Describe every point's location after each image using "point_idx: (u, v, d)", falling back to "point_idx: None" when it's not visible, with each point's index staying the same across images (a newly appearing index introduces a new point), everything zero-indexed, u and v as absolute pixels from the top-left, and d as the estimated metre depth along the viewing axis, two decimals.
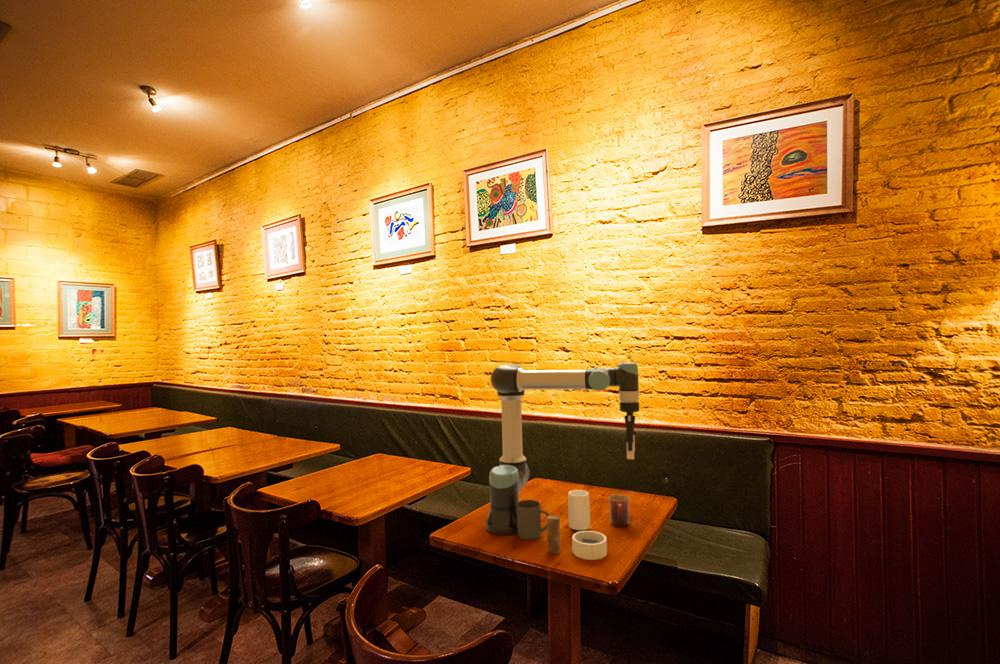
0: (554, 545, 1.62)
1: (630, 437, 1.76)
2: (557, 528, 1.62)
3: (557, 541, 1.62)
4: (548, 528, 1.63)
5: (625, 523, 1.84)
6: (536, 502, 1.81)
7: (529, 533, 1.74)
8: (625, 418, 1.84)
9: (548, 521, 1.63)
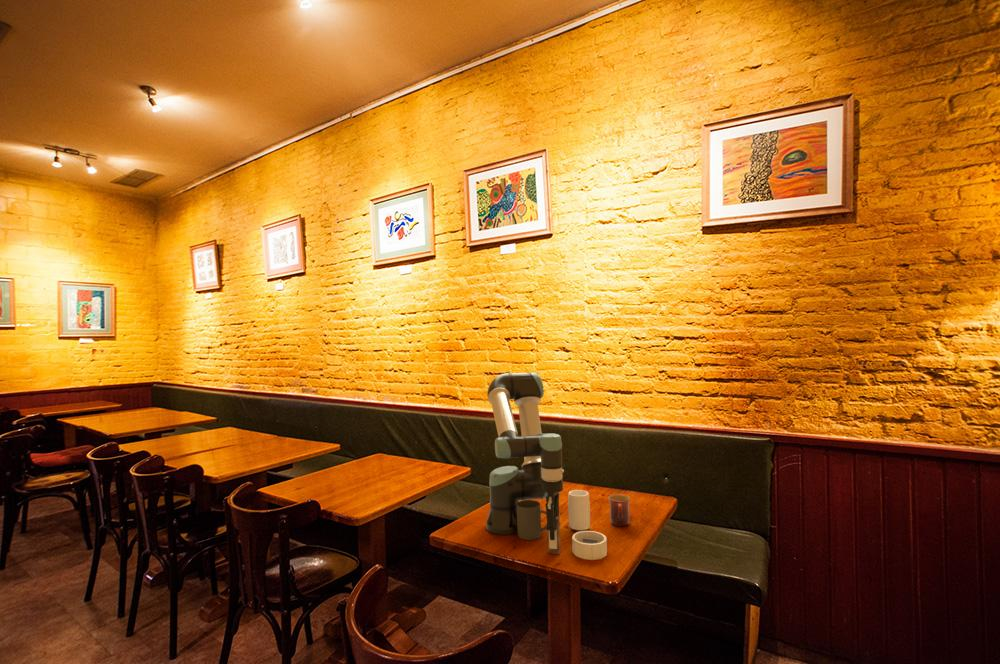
0: None
1: (551, 527, 1.59)
2: (557, 528, 1.62)
3: (557, 541, 1.62)
4: None
5: (625, 523, 1.84)
6: (536, 502, 1.81)
7: (529, 533, 1.74)
8: (547, 500, 1.62)
9: None
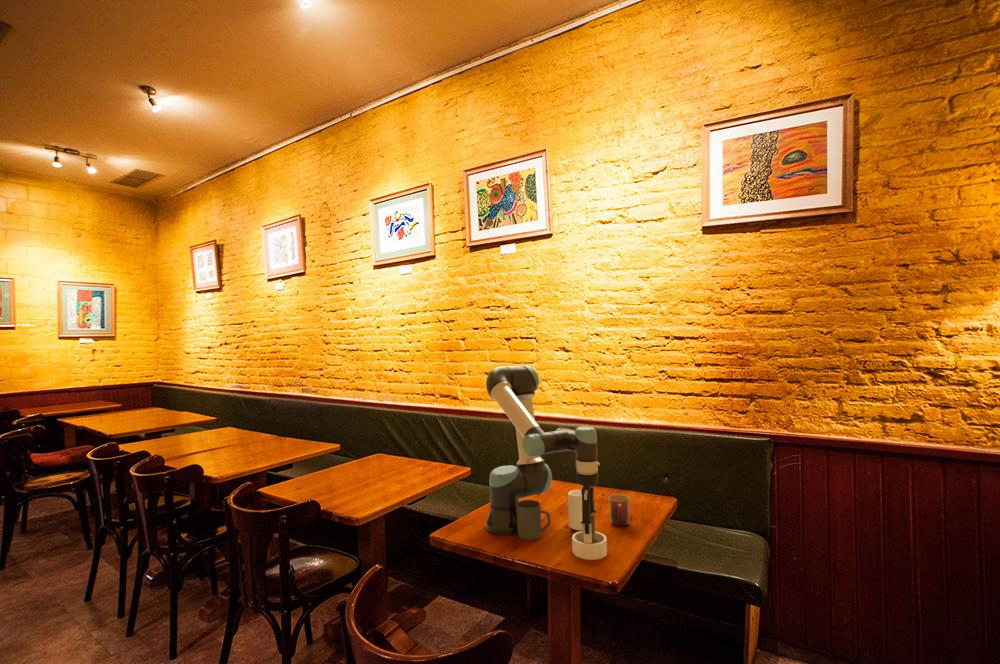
0: None
1: (586, 520, 1.55)
2: (593, 525, 1.61)
3: (593, 538, 1.61)
4: None
5: (625, 523, 1.84)
6: (536, 502, 1.81)
7: (529, 533, 1.74)
8: (582, 492, 1.61)
9: None
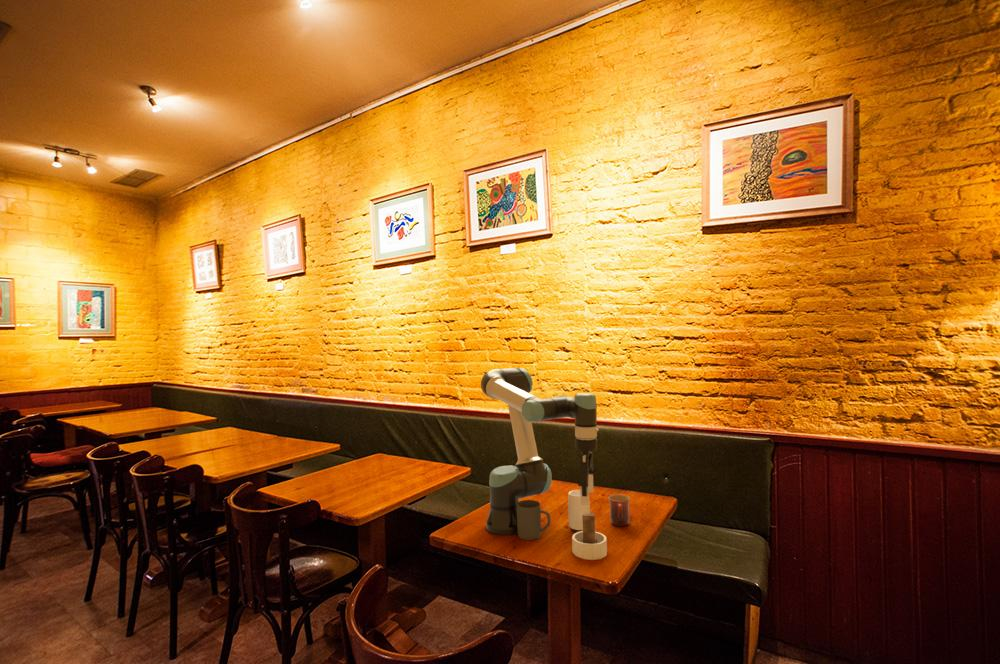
0: (590, 542, 1.61)
1: (584, 481, 1.54)
2: (593, 525, 1.61)
3: (593, 538, 1.61)
4: (584, 525, 1.62)
5: (625, 523, 1.84)
6: (536, 502, 1.81)
7: (529, 533, 1.74)
8: (581, 457, 1.62)
9: (584, 518, 1.62)
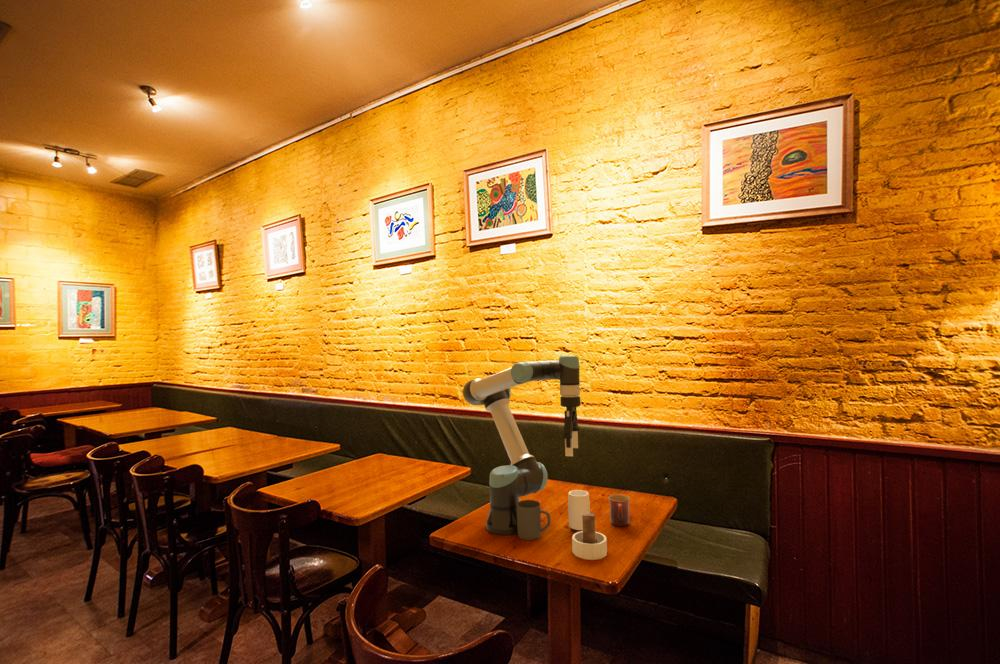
0: (590, 542, 1.61)
1: (568, 433, 1.68)
2: (593, 525, 1.61)
3: (593, 538, 1.61)
4: (584, 525, 1.62)
5: (625, 523, 1.84)
6: (536, 502, 1.81)
7: (529, 533, 1.74)
8: None
9: (584, 518, 1.62)
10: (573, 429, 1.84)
